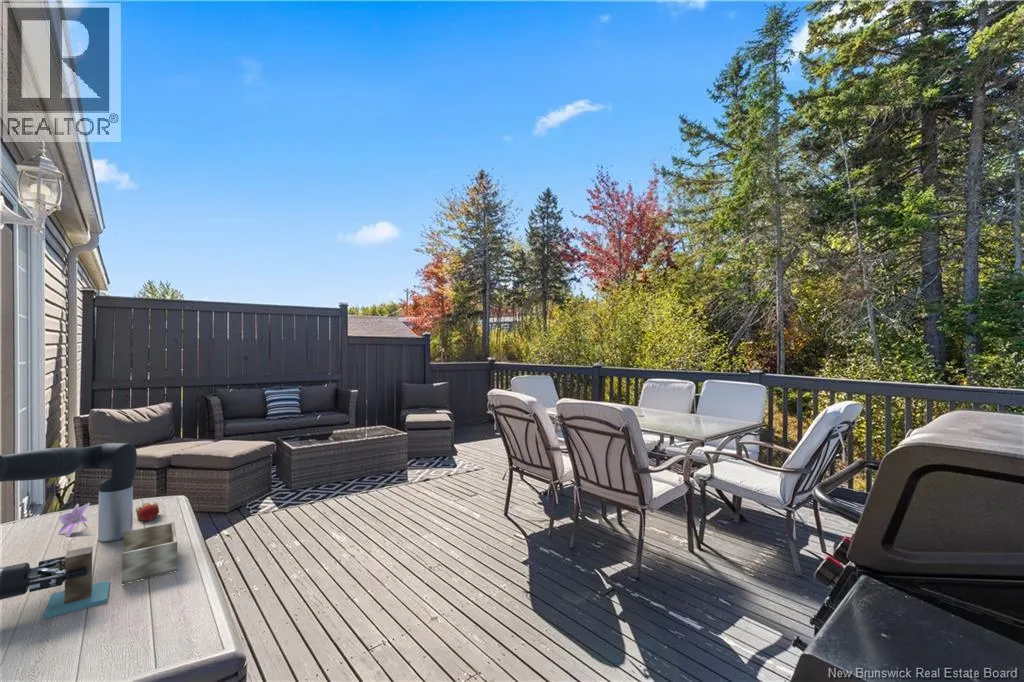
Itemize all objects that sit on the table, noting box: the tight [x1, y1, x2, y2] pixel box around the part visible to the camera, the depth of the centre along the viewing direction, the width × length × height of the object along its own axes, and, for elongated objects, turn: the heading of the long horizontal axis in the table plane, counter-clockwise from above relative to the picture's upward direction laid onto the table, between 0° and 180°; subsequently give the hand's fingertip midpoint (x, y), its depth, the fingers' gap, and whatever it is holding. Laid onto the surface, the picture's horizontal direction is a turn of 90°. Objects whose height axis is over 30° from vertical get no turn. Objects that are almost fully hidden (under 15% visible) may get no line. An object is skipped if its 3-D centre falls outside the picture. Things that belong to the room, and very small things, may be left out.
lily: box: [57, 502, 91, 537], centre depth 167 cm, size 12×12×10 cm
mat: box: [43, 580, 111, 620], centre depth 123 cm, size 12×12×1 cm
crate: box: [121, 521, 178, 585], centre depth 142 cm, size 13×20×9 cm, turn 39°
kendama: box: [135, 501, 160, 522], centre depth 182 cm, size 8×6×18 cm
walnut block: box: [64, 545, 93, 604], centre depth 123 cm, size 5×5×12 cm
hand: (88, 564), depth 124 cm, fingers open, 8 cm apart
